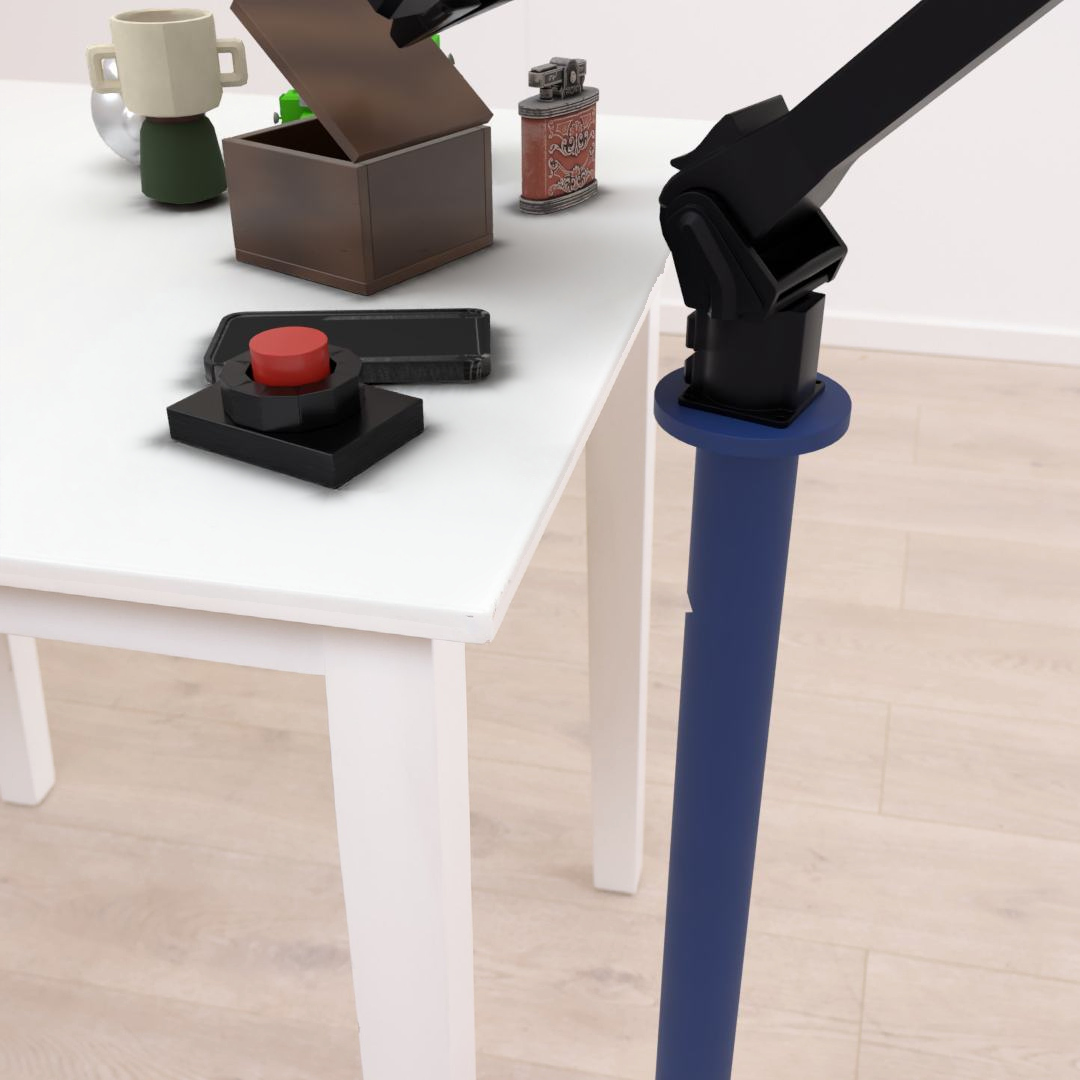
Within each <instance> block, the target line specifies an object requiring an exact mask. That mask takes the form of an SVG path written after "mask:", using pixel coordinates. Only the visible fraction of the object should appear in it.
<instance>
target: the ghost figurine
mask: <svg viewBox="0 0 1080 1080" xmlns="http://www.w3.org/2000/svg"><path fill="white" fill-rule="evenodd" d="M102 68H103V74H104V78H105V79H118V75H117V68H116V62H115V58H110V59H103V62H102ZM90 112H91V118H92V121H93V124H94V127H95V129H96V131H97V133H98V135H99V137H100V138H101V140H102V142H103V143H104V144H105V145H106V146H107V147H108V148H109V150H111V151H112V152H113V153H114V154H115V155H117V156H118V157H120V158H121V159H124V161H127V162H129V163H131V164H134V165H137V166H140V129H141V126H142V123H143V121H144V120H145V119H146V117H145V116H142V115H139V114H135V113H132V112H129V110H128V109H127V107H126V105H125V104H124V102H123V100H122V99H121V94H120V93H111V94H100V93H96V92H94V90H93V88H92V90H91V95H90ZM205 116H207V112H205Z"/></svg>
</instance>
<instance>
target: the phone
mask: <svg viewBox="0 0 1080 1080" xmlns="http://www.w3.org/2000/svg"><path fill="white" fill-rule="evenodd" d="M281 327H307V328H313V329H317V330H319V331H321V332H323V333H324V334H325V335H326V336H327V338H328V344H330V345H334V346H338V347H342V348H347V349H349V350H351V351H352V352H353V353H354V354H355V355H356V356H357V357H359V358H360V359H361V360H362V361H363V372H364V384H373V383H379V384H380V383H425V382H427V383H430V382H432V383H433V382H434V383H435V382H436V383H437V382H474V381H478V380H483V379H486V378H487V377H489V376H490V375H491V373H492V343H491V342H492V338H491V337H492V336H491V314H490V312H489V311H487V310H486V309H482V308H477V307H450V308H449V307H448V308H447V307H445V308H444V307H443V308H441V307H440V308H388V309H387V308H386V309H383V308H382V309H379V308H378V309H327V310H326V309H325V310H322V309H321V310H320V309H319V310H315V309H313V310H260V311H259V310H254V311H253V310H251V311H248V310H247V311H237V312H231V313H228V314H226V315H224V316H223V317H222V318H221V319H220V322H219V324H218V325H217V328H216V330H215V332H214V334H213V337H212V339H211V341H210V343H209V345H208V347H207V349H206V351H205V353H204V356H203V365H204V373H205V380H206V381H207V382H208V383H210V384H211V385H212V384H214V383H216V382H218V381H219V374H220V372H221V370H222V368H223V367H224V365H225V363H226V361H228V360H230V359H232V358H234V357H236V356H238V355H240V354H242V353H244V352H246V351H248V350H250V347H249V343H250V340H251V339H252V338H253V337H254V336H256V335H257V334H259V333H262V332H264V331H267V330H271V329H275V328H281Z"/></svg>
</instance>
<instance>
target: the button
mask: <svg viewBox="0 0 1080 1080" xmlns="http://www.w3.org/2000/svg"><path fill="white" fill-rule="evenodd" d="M249 347H250V355H251V364H252V372H253V378H254V381H255V382H258V383H262V384H266V385H269V386H299V385H304V384H308V383H313V382H318V381H320V380H321V379H323V378H325V377H327V376H329V375H330V373H331V370H330V359H329V348H328V338H327V336H326V335H325V334H324V333H323V332H321V331H319V330H317V329H313V328H307V327H281V328H275V329H271V330H267V331H264V332H262V333H259V334H257V335H256V336H254V337H253V338H252V339H251V340H250V343H249Z"/></svg>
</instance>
